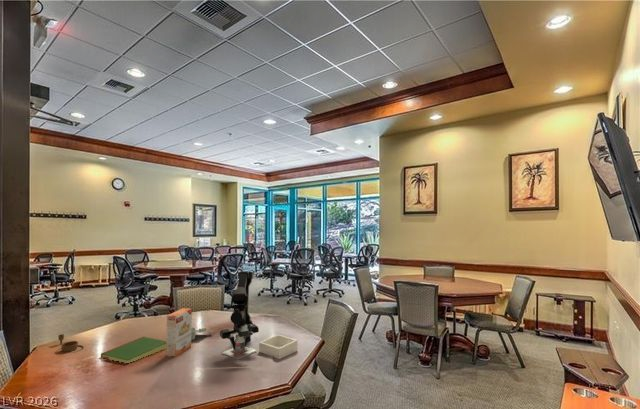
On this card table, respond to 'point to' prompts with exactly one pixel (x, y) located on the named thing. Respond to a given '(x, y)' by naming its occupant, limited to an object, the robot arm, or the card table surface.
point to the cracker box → (178, 332)
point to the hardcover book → (135, 350)
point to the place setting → (68, 345)
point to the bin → (278, 346)
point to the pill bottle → (239, 345)
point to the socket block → (248, 352)
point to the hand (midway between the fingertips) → (239, 348)
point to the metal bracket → (198, 332)
